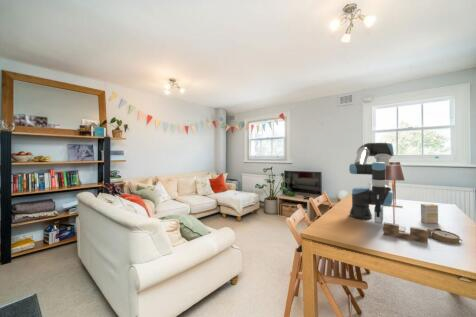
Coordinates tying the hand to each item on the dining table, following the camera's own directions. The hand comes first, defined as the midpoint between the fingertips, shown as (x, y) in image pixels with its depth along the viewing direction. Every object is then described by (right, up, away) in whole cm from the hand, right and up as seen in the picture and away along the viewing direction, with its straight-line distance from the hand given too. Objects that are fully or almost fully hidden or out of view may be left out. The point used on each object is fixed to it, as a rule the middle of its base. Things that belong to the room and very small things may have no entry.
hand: (378, 219), depth 134 cm
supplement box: (+45, -6, +12) cm, 47 cm away
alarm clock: (+26, -7, -15) cm, 31 cm away
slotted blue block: (0, -1, 0) cm, 1 cm away
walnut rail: (+5, -7, -14) cm, 17 cm away
